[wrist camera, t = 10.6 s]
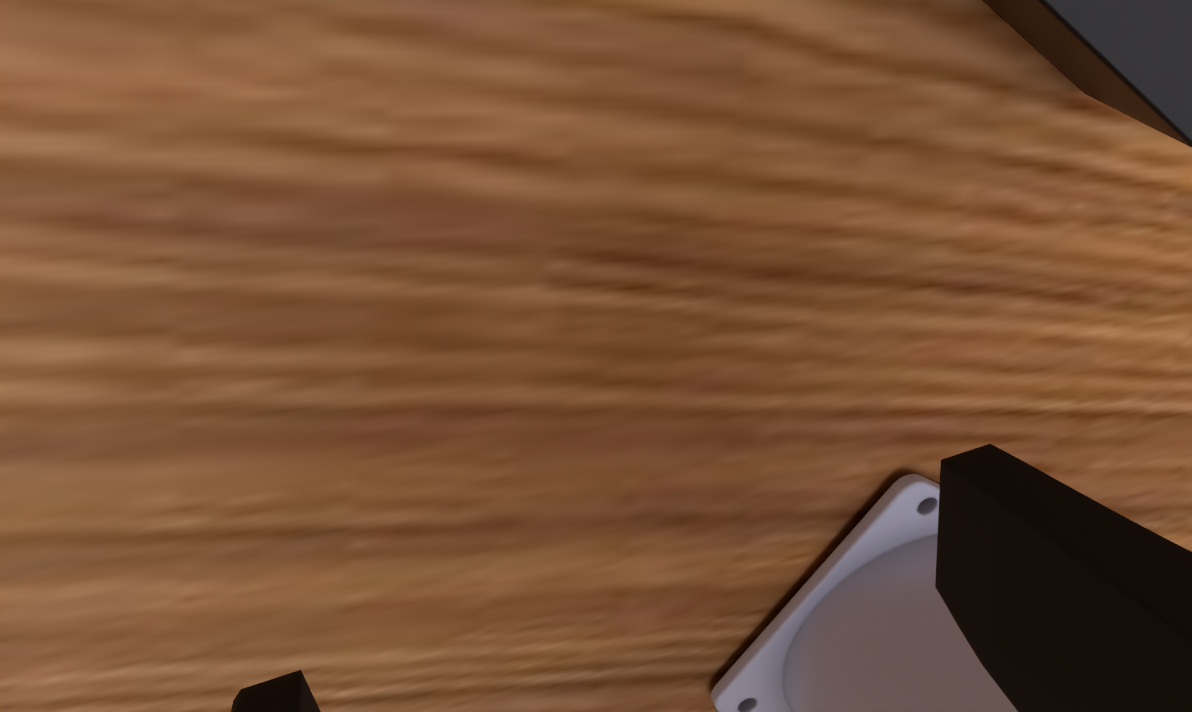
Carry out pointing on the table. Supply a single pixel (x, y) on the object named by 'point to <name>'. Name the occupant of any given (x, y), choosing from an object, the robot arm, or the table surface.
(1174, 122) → the hob panel
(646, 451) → the table surface
